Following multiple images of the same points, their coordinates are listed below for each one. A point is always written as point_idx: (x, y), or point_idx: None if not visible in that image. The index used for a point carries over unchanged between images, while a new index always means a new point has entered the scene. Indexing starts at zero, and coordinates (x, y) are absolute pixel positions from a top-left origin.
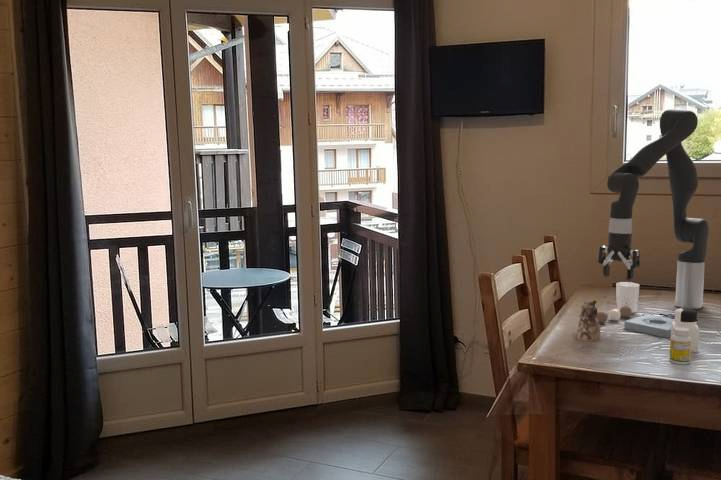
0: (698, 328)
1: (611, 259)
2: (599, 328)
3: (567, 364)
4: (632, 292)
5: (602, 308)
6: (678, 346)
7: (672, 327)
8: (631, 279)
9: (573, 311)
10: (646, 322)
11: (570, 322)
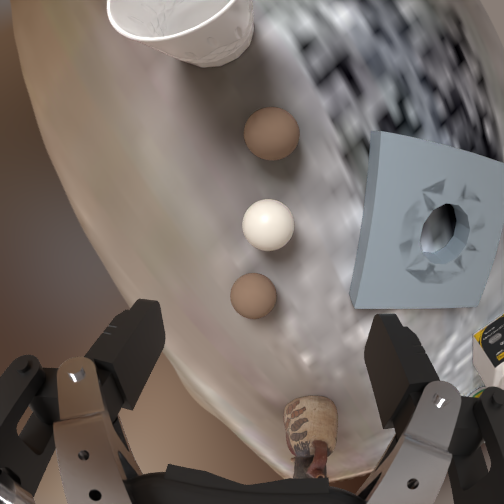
0: None
1: (125, 465)
2: (337, 426)
3: (342, 474)
4: (238, 18)
5: (125, 77)
6: None
7: (490, 386)
8: (391, 316)
9: (94, 206)
10: (419, 272)
11: (187, 335)
